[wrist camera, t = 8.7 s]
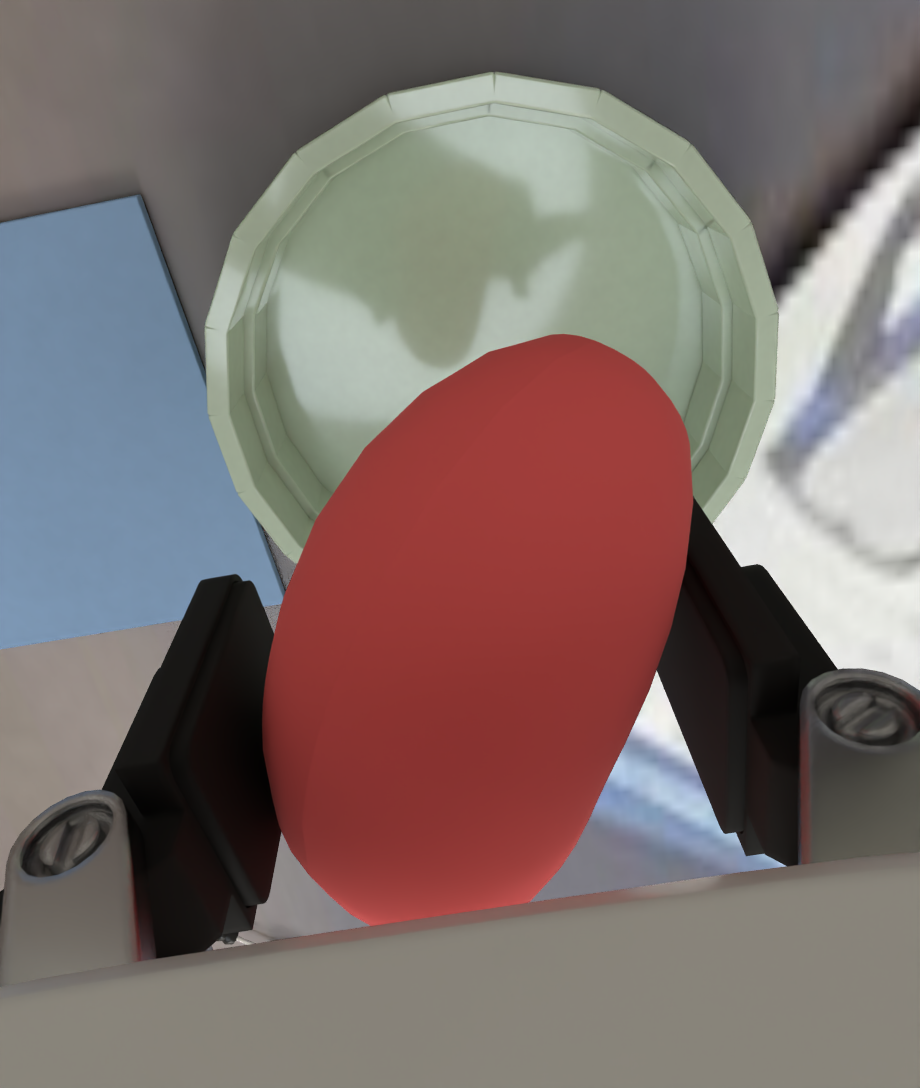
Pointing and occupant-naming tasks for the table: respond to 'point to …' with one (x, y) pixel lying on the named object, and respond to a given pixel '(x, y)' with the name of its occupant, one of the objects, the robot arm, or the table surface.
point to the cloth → (107, 436)
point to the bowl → (479, 280)
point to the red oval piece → (477, 630)
